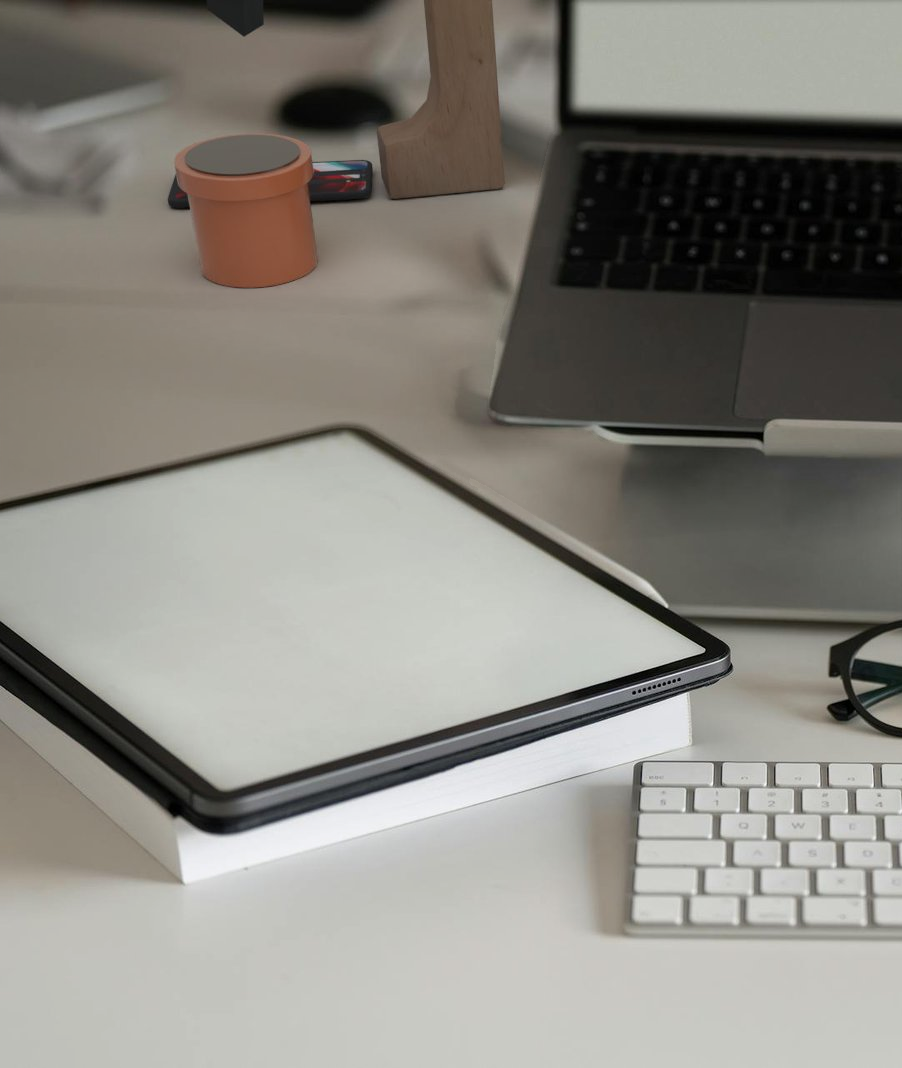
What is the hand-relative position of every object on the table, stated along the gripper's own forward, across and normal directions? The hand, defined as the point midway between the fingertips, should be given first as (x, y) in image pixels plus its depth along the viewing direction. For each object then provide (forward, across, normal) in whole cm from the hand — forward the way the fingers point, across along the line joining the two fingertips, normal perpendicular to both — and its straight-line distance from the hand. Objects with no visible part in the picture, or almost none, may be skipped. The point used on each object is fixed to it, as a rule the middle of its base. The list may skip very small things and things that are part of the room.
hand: (235, 16), depth 94 cm
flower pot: (+28, +4, +3) cm, 29 cm away
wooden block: (+33, +23, +2) cm, 40 cm away
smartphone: (+35, +14, +12) cm, 39 cm away
